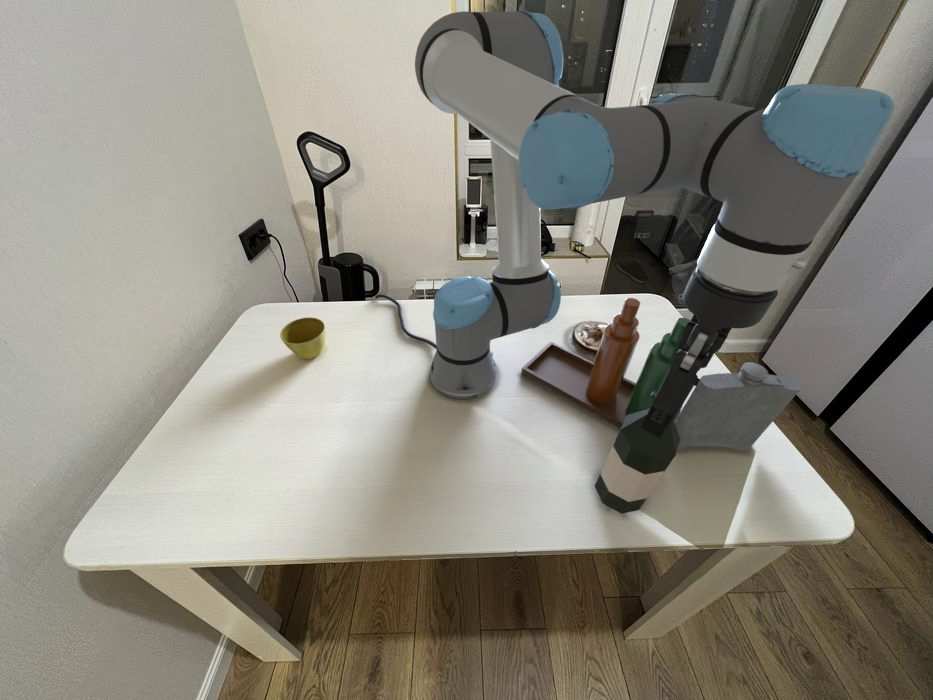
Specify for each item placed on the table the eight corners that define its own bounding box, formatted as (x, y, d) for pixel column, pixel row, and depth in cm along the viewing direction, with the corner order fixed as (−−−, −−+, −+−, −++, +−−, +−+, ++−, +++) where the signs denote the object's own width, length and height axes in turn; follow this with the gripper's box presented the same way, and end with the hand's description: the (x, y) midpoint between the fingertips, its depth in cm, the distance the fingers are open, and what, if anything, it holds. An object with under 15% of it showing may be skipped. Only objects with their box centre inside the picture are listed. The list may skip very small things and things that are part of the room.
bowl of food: (558, 349, 95) (560, 336, 92) (576, 318, 104) (579, 306, 102) (618, 369, 89) (623, 357, 86) (631, 335, 99) (635, 322, 96)
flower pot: (298, 372, 89) (288, 349, 84) (283, 350, 95) (274, 328, 90) (338, 354, 93) (331, 332, 89) (322, 334, 99) (314, 312, 95)
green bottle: (619, 415, 78) (658, 323, 62) (632, 397, 82) (672, 306, 66) (650, 432, 75) (700, 339, 59) (662, 412, 79) (711, 321, 63)
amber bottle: (580, 394, 83) (607, 303, 67) (594, 378, 86) (622, 288, 70) (608, 408, 79) (643, 317, 63) (620, 391, 83) (657, 300, 67)
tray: (520, 375, 88) (521, 368, 86) (549, 348, 95) (550, 341, 94) (656, 451, 72) (660, 445, 71) (678, 412, 80) (682, 405, 78)
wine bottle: (647, 518, 62) (733, 400, 42) (595, 508, 64) (655, 389, 44) (640, 473, 69) (713, 351, 48) (593, 465, 70) (645, 343, 50)
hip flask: (667, 450, 73) (712, 378, 59) (660, 433, 76) (701, 360, 62) (751, 452, 72) (815, 380, 59) (740, 434, 75) (798, 362, 62)
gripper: (762, 331, 31) (662, 478, 47) (794, 258, 40) (702, 401, 56) (669, 297, 35) (605, 444, 50) (718, 237, 44) (652, 377, 59)
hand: (656, 421), depth 53 cm, fingers closed on wine bottle, 3 cm apart
